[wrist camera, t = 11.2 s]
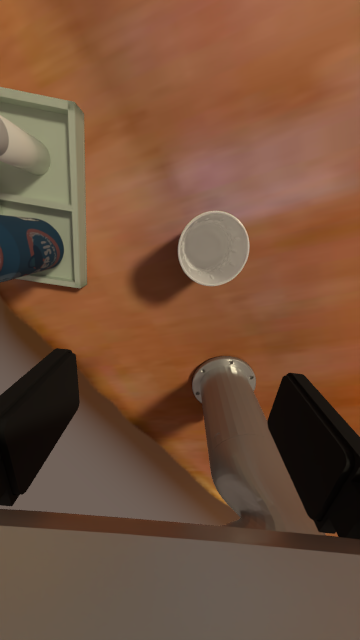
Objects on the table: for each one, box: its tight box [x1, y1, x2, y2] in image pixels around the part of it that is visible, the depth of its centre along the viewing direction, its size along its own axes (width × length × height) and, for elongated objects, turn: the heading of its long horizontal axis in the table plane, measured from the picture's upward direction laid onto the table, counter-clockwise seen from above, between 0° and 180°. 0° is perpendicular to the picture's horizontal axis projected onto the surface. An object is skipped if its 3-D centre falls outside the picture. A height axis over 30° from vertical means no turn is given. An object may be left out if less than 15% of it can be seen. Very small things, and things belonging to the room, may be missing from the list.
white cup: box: [178, 211, 249, 286], centre depth 27 cm, size 8×8×10 cm
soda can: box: [0, 215, 64, 282], centre depth 26 cm, size 7×7×12 cm
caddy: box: [0, 87, 87, 288], centre depth 29 cm, size 22×12×2 cm, turn 171°
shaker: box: [0, 115, 51, 175], centre depth 23 cm, size 4×4×9 cm
